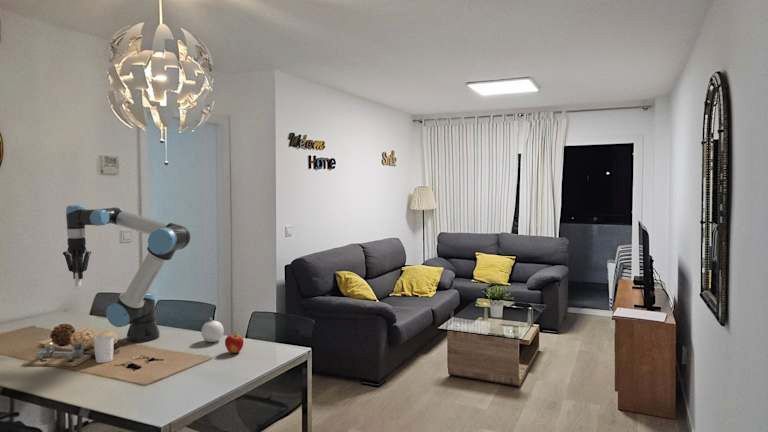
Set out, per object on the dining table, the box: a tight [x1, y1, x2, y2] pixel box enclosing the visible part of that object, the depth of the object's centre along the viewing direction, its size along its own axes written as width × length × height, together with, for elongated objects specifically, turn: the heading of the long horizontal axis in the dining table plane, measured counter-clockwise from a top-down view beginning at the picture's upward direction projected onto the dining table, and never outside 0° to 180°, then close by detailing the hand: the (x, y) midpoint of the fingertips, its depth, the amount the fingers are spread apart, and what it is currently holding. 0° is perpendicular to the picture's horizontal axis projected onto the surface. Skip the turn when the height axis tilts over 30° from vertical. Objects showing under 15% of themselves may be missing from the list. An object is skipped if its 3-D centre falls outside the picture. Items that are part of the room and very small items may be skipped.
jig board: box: [22, 354, 91, 367], centre depth 237 cm, size 23×12×1 cm, turn 87°
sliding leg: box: [38, 341, 56, 360], centre depth 238 cm, size 3×8×6 cm, turn 177°
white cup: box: [93, 335, 115, 364], centre depth 238 cm, size 8×8×10 cm
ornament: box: [201, 317, 225, 343], centre depth 265 cm, size 10×10×12 cm
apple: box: [224, 331, 244, 354], centre depth 248 cm, size 8×8×10 cm
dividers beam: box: [35, 342, 85, 361], centre depth 238 cm, size 20×8×6 cm, turn 87°
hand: (78, 285), depth 260 cm, fingers closed
